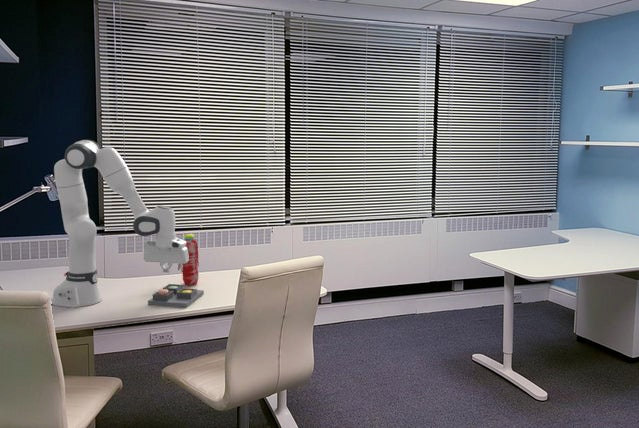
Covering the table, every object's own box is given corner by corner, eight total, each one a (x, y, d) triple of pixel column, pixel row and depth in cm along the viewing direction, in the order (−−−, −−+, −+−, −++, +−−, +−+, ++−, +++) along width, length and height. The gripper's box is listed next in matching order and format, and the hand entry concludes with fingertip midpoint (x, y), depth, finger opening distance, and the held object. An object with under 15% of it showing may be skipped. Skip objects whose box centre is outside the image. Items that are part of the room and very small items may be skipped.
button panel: (148, 305, 260) (147, 295, 259) (167, 292, 279) (167, 282, 279) (186, 307, 257) (186, 298, 256) (203, 294, 276) (203, 285, 275)
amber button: (180, 296, 265) (180, 292, 265) (184, 294, 269) (184, 289, 269) (189, 297, 264) (189, 293, 264) (193, 294, 269) (193, 290, 268)
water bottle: (173, 284, 291) (171, 234, 287) (181, 280, 299) (180, 231, 295) (194, 287, 288) (193, 236, 283) (202, 282, 295) (201, 233, 291)
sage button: (166, 292, 272) (166, 288, 271) (170, 289, 276) (170, 285, 275) (175, 293, 271) (175, 288, 270) (179, 290, 275) (179, 286, 275)
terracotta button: (156, 296, 262) (156, 291, 261) (160, 293, 266) (160, 288, 266) (165, 296, 261) (165, 292, 260) (170, 293, 265) (169, 289, 265)
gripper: (140, 242, 263) (141, 272, 265) (184, 244, 259) (185, 275, 262) (147, 239, 269) (147, 268, 271) (189, 241, 266) (190, 271, 268)
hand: (166, 272), depth 266 cm, fingers closed
